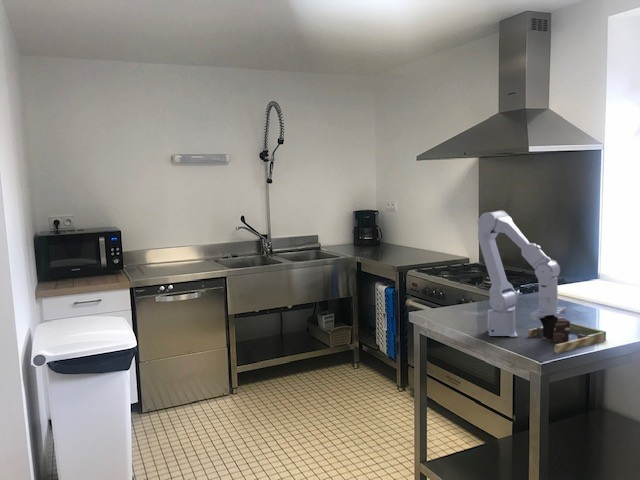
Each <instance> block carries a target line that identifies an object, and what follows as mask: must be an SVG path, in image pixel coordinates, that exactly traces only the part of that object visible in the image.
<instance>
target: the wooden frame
mask: <svg viewBox="0 0 640 480" xmlns="http://www.w3.org/2000/svg"><path fill="white" fill-rule="evenodd" d="M540 327H541V328H543V325H542V326H540ZM569 332H571V333H574V334H577V335H578V334H583V335H586V337H583V338H580V339H578V338H577V339H572V340H569V341H568V342H564V343H561V342H559V343H557V344H554V353H555V352H556V353H555V354H561V353H564V351H565V352H567V351H571V350H575V349H578V348H583V347H586V346H590V345H593V344H597V343H601V342H605V341H607V331H604V330H602V329H597V328H593V327H590V326H586V325H582V324H578V323H575V322H571V321H570V328H569ZM533 336H534V337H538V336H537V327H535V328H534V327H533V328H531V329H528V338H534V337H533ZM560 352H561V353H560Z"/></svg>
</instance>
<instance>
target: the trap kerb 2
mask: <svg viewBox="0 0 640 480" xmlns="http://www.w3.org/2000/svg"><path fill="white" fill-rule="evenodd" d="M583 337H587V336H586V335H583V334H578V333H577V339H580V338H583Z"/></svg>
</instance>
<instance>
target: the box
mask: <svg viewBox="0 0 640 480" xmlns="http://www.w3.org/2000/svg"><path fill="white" fill-rule="evenodd" d="M557 317H558V316H557ZM570 322H571V321H569V320H567V319H566V318H564V317H563V316H560V317H558V320H557V322H556V324H555V325H554V333H553V338H545V337H544V334H543V337H542V338H544V339H545V340H547V341H549V342H551V343H564V342H568V341H570V340H569V339H570V331H569V328H570Z"/></svg>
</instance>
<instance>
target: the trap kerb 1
mask: <svg viewBox="0 0 640 480" xmlns="http://www.w3.org/2000/svg"><path fill="white" fill-rule="evenodd" d="M541 327H542V326H538V327H537V326H536V328H537V336H536V337H540V338H544V337H543V328H541Z"/></svg>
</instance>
